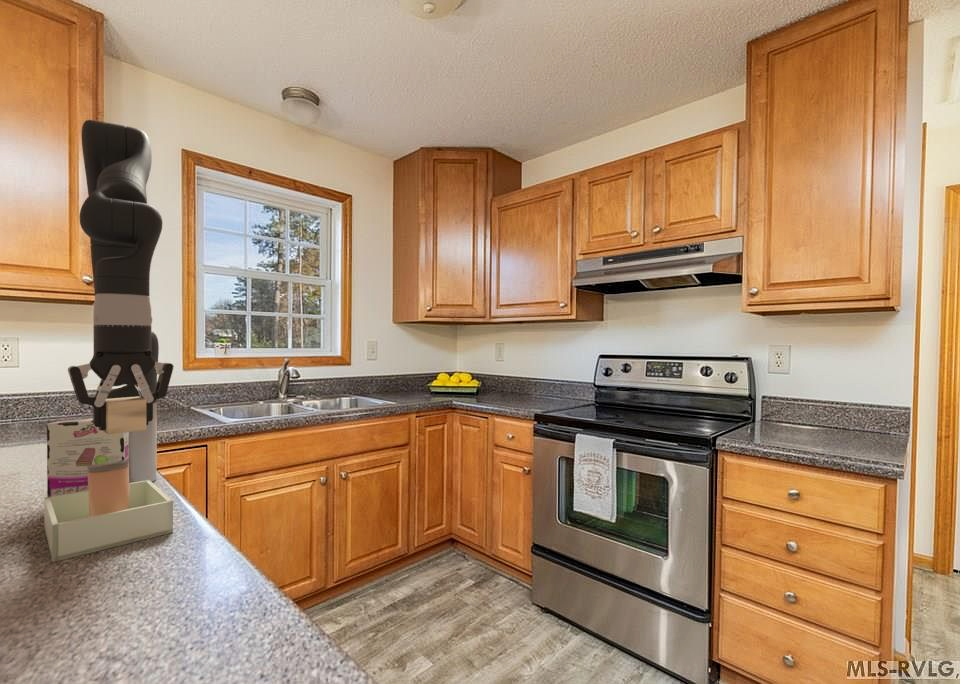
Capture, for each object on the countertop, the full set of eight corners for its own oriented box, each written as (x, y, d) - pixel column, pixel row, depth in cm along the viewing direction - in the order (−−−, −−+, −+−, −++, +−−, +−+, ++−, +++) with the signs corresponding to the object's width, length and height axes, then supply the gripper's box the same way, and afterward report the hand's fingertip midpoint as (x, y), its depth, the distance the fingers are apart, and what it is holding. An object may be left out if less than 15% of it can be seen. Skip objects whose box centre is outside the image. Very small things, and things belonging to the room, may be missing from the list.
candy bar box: (130, 498, 91) (130, 414, 91) (124, 506, 87) (124, 418, 87) (55, 508, 86) (55, 419, 86) (45, 517, 82) (45, 423, 82)
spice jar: (99, 528, 75) (97, 462, 75) (136, 524, 76) (134, 459, 76) (82, 540, 70) (80, 469, 70) (122, 535, 71) (120, 466, 71)
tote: (44, 528, 76) (44, 497, 76) (148, 506, 87) (149, 479, 87) (52, 562, 64) (52, 525, 64) (172, 532, 75) (172, 501, 75)
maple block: (101, 429, 76) (101, 399, 76) (138, 425, 80) (138, 396, 80) (108, 434, 73) (107, 402, 73) (146, 429, 77) (146, 399, 77)
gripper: (168, 324, 84) (168, 418, 84) (61, 322, 74) (62, 430, 74) (180, 324, 79) (180, 424, 79) (67, 321, 68) (68, 437, 69)
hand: (123, 426), depth 76 cm, fingers closed on maple block, 5 cm apart
